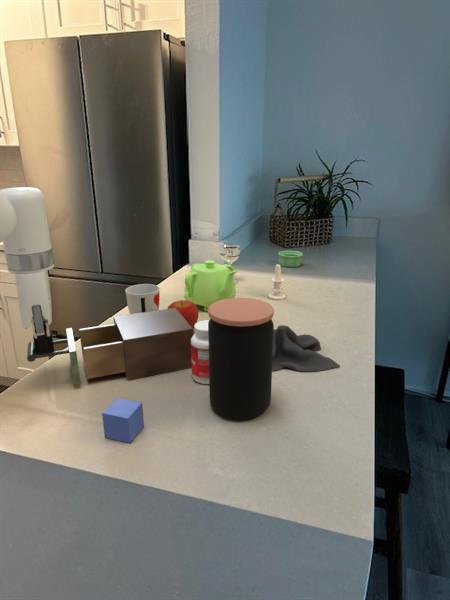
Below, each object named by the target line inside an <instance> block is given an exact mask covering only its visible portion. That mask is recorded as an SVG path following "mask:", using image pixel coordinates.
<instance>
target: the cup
mask: <svg viewBox="0 0 450 600" xmlns="http://www.w3.org/2000/svg"><path fill="white" fill-rule="evenodd" d="M125 295H126V296H125V298H126V304H127V308H128V312H129V314H136V313H143V312H149V311H156V310H160V305H161V304H160V296H161V295H160V287H159V286H158V285H156V284H152V283H138V284H134V285H130V286H128V287H126V288H125Z"/></svg>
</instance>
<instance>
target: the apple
mask: <svg viewBox="0 0 450 600" xmlns="http://www.w3.org/2000/svg"><path fill="white" fill-rule="evenodd" d="M197 306H198V305H195V304H194V303H193V302H191V301H190V300H186V299H184V300H183V299H182V300H181V299H180V300H177V301H173V302H171V303H170V304H169V305H168V306H167V309H170V308H176V309H177V310H178V311H179V313H180V314H181V315H182V316H183V317H184V319H185V320H186V321H187V322H188V323H189V325H190V326H191V327H192V328H193V331H194V325H195V324H196V323H197V322H199V321H198V320H199V314H200V313H199V311H200V310H199V308H198V307H197Z"/></svg>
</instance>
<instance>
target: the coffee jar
mask: <svg viewBox="0 0 450 600" xmlns="http://www.w3.org/2000/svg"><path fill="white" fill-rule="evenodd" d="M207 313H208V317H209V318H210V319H208V320H209V322H208V338H209V384H208V386H209V390H208V391H209V404H210V405H211V407H212V408H213V409H214V411H216V413H217V414H218V415H220V416H221V417H224V418H226V419H229V420H235V421H249V420H252V419H255V418H258V417H260V416H262V415H263V414H264V413H265V411H266V410H267V409H268V408H269V407H270V405H271V402H272V382H273V381H272V379H273V371H272V357H273V330H274V329H275V328H274V327H275V325H274V321H273V320H272V319H273V317H274V314H275V309H274V307H273V305H272V304H270V303H269V302H267V301H264V300H262V299H257V298H253V297H234V298H229V299H223V300H219V301H216V302H214V303H213V304H211V305H210V306H209V308H208V311H207Z"/></svg>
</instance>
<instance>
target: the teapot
mask: <svg viewBox="0 0 450 600" xmlns="http://www.w3.org/2000/svg"><path fill="white" fill-rule="evenodd" d="M236 273H238V270H234V267H233V266H230V265H229V263H228V264H220V263H217V262H216V261H215V260H214V259H213V260H212V259H207V260H204V263H193V264H192V265H191V266H190V270H189V272H188V273H187V274H186V275H185V276H184V295H183V297H184V300H186V301H190V302H193V303H194V304H195V305H196V306H202V307H203V311H204V312H208V308H209V306H210V305H211V304H213V303H214V302H216V301H219V300H223V299H229V298H236V295H237V289H236V284H235V283H234V280H235V279H234V277H235V274H236Z"/></svg>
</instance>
